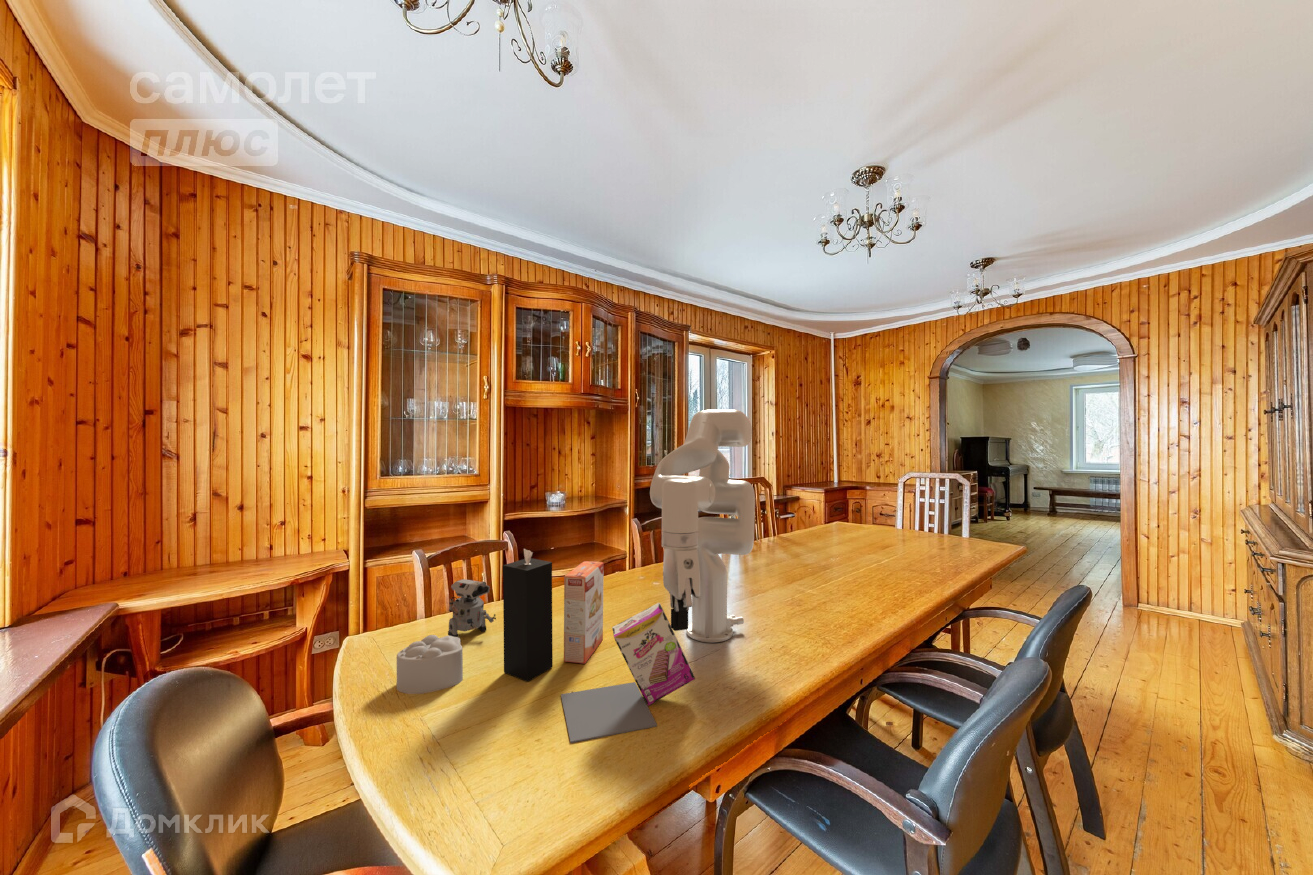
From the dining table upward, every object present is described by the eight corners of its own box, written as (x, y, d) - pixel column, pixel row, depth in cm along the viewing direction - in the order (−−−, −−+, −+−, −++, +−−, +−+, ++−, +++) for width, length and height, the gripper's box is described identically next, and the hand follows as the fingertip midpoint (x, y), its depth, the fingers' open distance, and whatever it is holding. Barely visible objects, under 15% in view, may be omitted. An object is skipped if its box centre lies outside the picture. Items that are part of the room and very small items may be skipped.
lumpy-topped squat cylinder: (464, 684, 105) (463, 644, 105) (396, 700, 99) (396, 658, 98) (459, 664, 114) (458, 627, 114) (396, 677, 108) (396, 638, 108)
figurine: (462, 648, 122) (461, 589, 122) (445, 634, 130) (445, 579, 130) (496, 637, 128) (496, 581, 128) (478, 625, 137) (478, 572, 136)
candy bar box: (648, 708, 95) (612, 637, 94) (644, 693, 100) (610, 626, 99) (697, 679, 97) (663, 610, 95) (691, 666, 102) (658, 600, 100)
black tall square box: (527, 682, 105) (526, 555, 105) (503, 673, 109) (502, 550, 109) (553, 667, 112) (552, 548, 111) (529, 659, 116) (528, 543, 116)
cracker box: (586, 665, 113) (586, 576, 113) (562, 662, 114) (562, 575, 114) (604, 639, 127) (604, 561, 126) (583, 637, 128) (582, 559, 128)
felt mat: (635, 683, 105) (635, 681, 105) (656, 726, 89) (656, 724, 89) (560, 695, 100) (560, 694, 100) (570, 743, 85) (570, 741, 85)
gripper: (711, 545, 93) (711, 640, 92) (683, 531, 107) (683, 614, 107) (675, 547, 90) (674, 645, 90) (651, 533, 105) (651, 618, 104)
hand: (679, 628), depth 98 cm, fingers closed
